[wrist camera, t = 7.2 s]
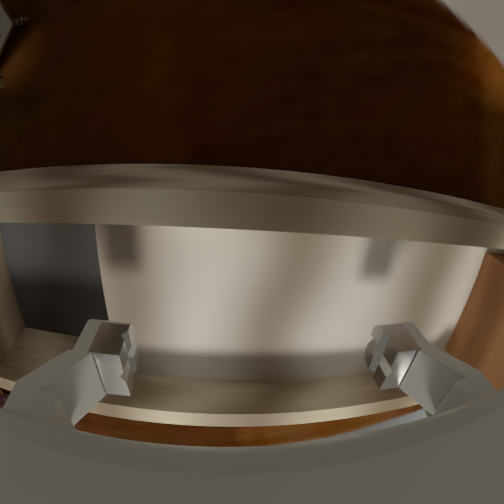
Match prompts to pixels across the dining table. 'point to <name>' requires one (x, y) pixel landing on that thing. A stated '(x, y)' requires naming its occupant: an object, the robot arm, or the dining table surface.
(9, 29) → the game die
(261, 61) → the dining table surface
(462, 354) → the block
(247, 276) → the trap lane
